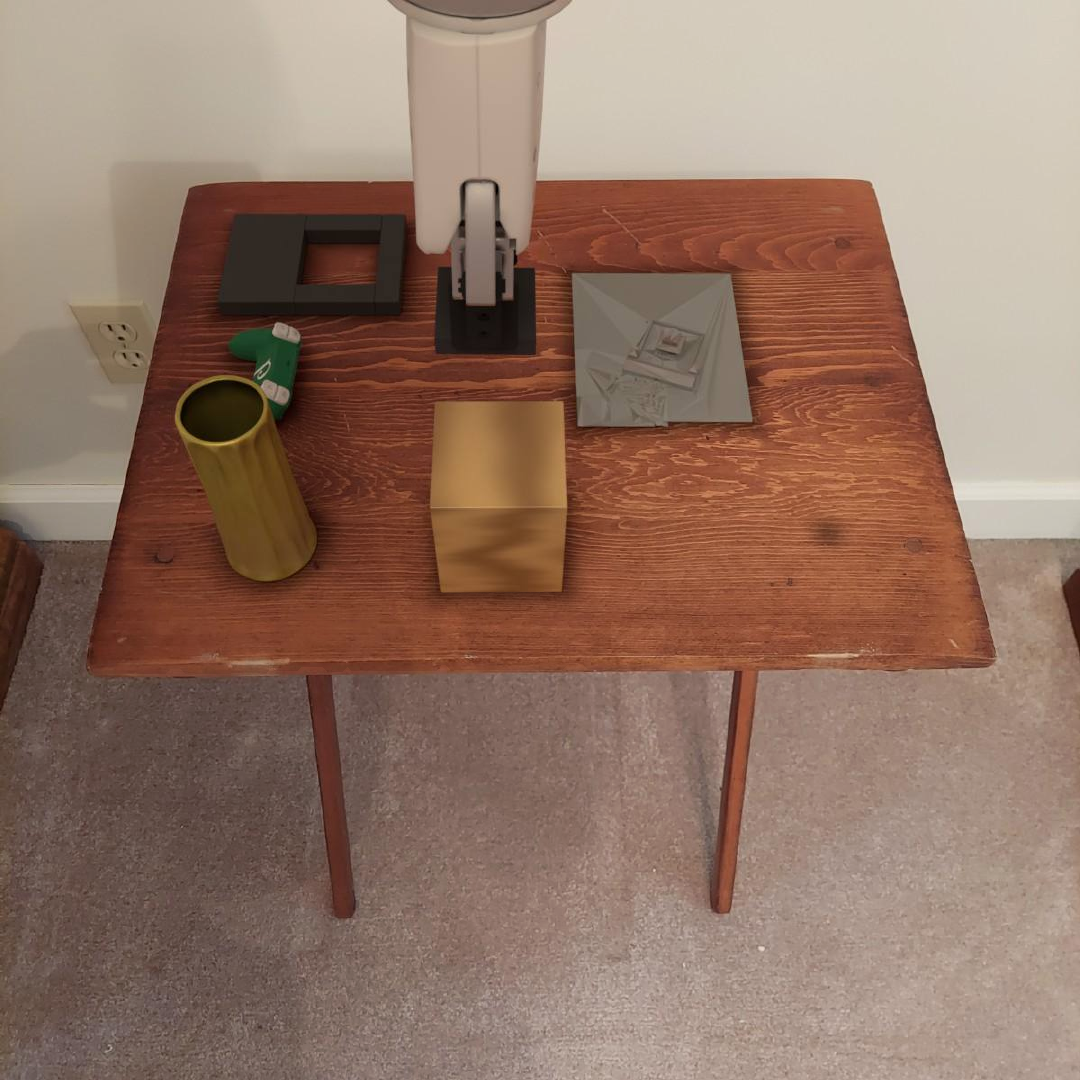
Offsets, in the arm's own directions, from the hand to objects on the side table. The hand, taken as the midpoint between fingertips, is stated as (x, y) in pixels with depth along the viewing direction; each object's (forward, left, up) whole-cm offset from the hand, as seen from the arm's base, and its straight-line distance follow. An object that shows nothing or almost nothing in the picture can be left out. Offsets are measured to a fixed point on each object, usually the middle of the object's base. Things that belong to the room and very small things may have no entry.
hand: (485, 300), depth 53 cm
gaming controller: (-17, +13, -23) cm, 31 cm away
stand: (0, 0, -22) cm, 22 cm away
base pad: (-15, +26, -22) cm, 37 cm away
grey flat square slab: (+14, +13, -23) cm, 30 cm away
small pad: (0, 0, -1) cm, 1 cm away
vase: (-15, 0, -23) cm, 27 cm away
